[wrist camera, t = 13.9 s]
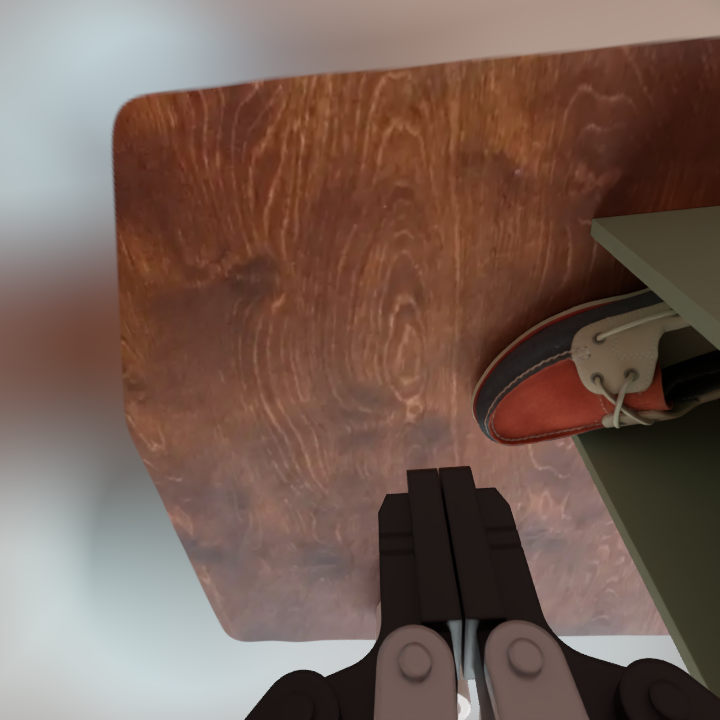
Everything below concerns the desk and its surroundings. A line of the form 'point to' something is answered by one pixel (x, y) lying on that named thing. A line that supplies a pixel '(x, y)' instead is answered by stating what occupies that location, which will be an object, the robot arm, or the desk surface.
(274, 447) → the desk surface
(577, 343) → the boat shoe
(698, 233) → the tall tan-topped box
